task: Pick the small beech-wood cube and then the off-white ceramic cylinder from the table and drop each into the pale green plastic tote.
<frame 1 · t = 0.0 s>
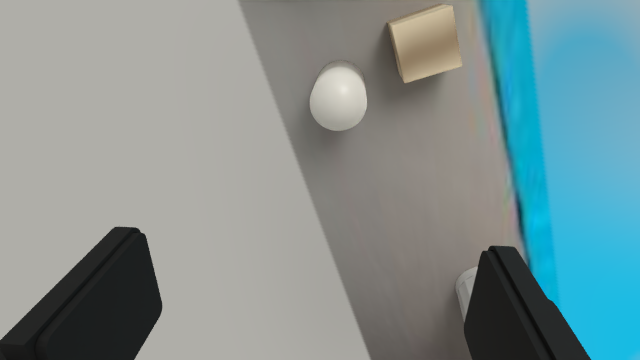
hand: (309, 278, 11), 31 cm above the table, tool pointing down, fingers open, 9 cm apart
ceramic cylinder: (340, 85, 39), on the table
cup: (479, 284, 50), on the table
beech cube: (418, 39, 37), on the table
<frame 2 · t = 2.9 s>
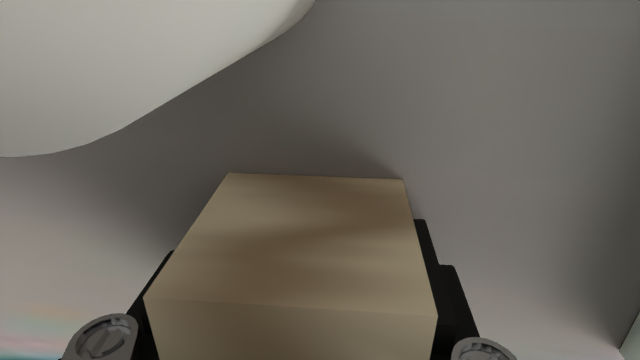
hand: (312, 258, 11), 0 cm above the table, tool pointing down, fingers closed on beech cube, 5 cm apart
beech cube: (314, 247, 12), on the table, touching gripper
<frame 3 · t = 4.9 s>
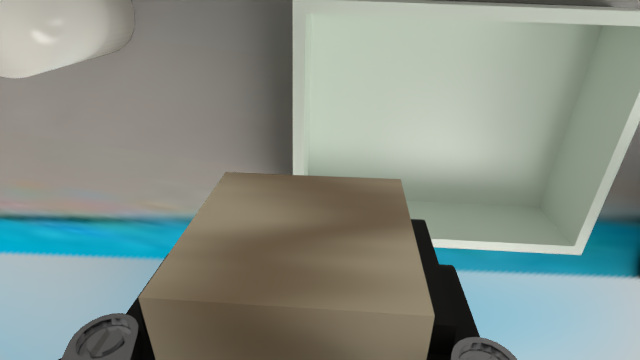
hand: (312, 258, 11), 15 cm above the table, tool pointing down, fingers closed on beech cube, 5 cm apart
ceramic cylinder: (92, 9, 22), on the table
tote: (435, 115, 24), on the table
beech cube: (312, 247, 12), point 14 cm above the table, touching gripper
when the fingers open (6 cm above the table, at t = 7.2 s): beech cube drops 5 cm, resting on tote.
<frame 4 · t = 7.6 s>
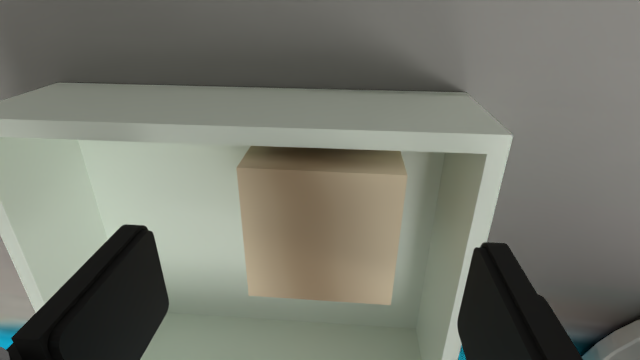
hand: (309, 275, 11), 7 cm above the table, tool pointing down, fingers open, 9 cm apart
tote: (264, 221, 19), on the table
beech cube: (328, 174, 17), point 1 cm above the table, touching tote
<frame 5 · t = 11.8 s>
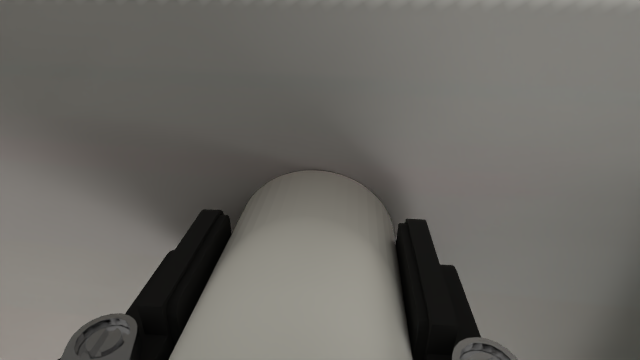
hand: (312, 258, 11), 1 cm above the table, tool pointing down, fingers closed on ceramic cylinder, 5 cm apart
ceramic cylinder: (315, 239, 12), on the table, touching gripper
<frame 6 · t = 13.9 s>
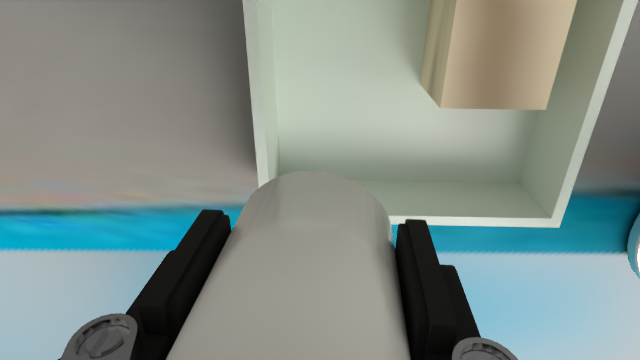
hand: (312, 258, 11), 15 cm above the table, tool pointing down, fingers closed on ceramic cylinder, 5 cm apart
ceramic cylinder: (314, 240, 12), point 14 cm above the table, touching gripper
tote: (406, 90, 23), on the table
beech cube: (469, 40, 21), point 1 cm above the table, touching tote
when the fingers open (5 cm above the table, at t = 16.2 s): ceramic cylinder drops 3 cm, resting on tote.
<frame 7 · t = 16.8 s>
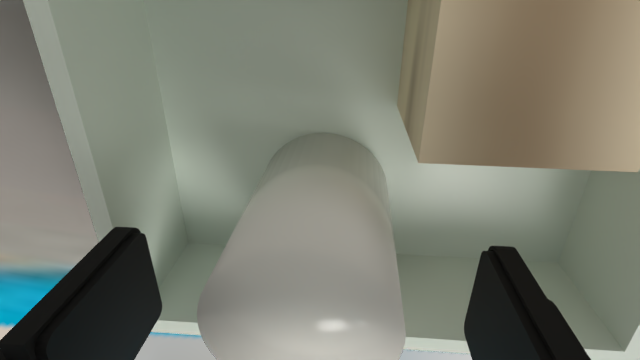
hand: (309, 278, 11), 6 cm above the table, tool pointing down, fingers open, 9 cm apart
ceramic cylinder: (324, 191, 15), point 1 cm above the table, touching tote
tote: (376, 114, 14), on the table
beech cube: (483, 32, 12), point 1 cm above the table, touching tote
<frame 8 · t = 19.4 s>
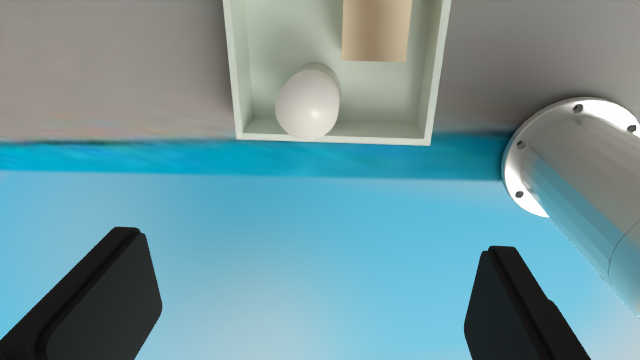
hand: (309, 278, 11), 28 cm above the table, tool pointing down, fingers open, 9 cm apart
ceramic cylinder: (314, 90, 36), point 1 cm above the table, touching tote
tote: (335, 56, 35), on the table
beech cube: (372, 22, 33), point 1 cm above the table, touching tote
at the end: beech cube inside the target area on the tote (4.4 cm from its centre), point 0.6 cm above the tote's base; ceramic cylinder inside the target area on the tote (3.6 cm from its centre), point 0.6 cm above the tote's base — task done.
